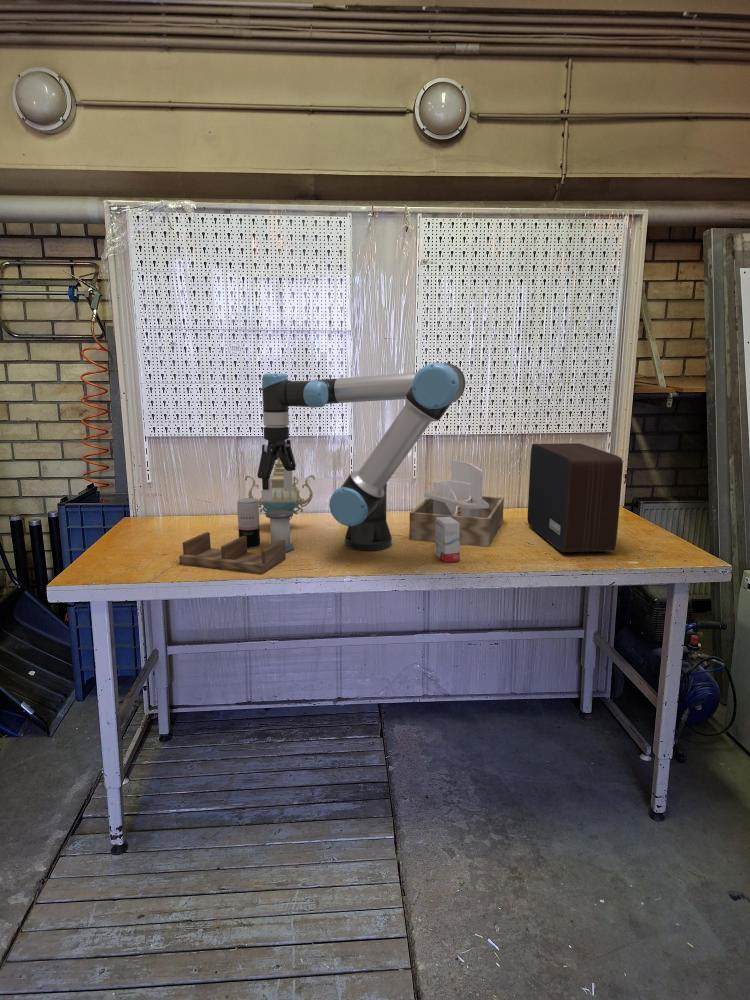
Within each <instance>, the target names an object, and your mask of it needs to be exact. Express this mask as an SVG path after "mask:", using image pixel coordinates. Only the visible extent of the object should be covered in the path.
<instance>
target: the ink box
mask: <svg viewBox="0 0 750 1000" xmlns="http://www.w3.org/2000/svg"><path fill="white" fill-rule="evenodd" d="M459 524H460V523H459V522H457V521H456V520H454V519H453V518H452V517H437V518H436V542H435V556H436V557H437V558H439V559H440V560H442V562H444V563H454V562H459V561H461V557H460V544H459Z"/></svg>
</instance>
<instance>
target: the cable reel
mask: <svg viewBox="0 0 750 1000" xmlns="http://www.w3.org/2000/svg"><path fill="white" fill-rule="evenodd" d="M265 513H266V515H265V517H266V518H268V519H269V526H270V527H269V528H270V544H268V545H267V547H266V548H268V547H269V546H271V545H273V544H275V543H276V542H278V541H280V540H285V552H286V554H287V553H288V552H289V553H291V551H292V552H293V551H295V544H293V543H291V522H290V521H291V520H290V519H291V517H292V518H293V517H294V513H293V511H290V510H272V511H268V512H265ZM289 553H288V554H289Z"/></svg>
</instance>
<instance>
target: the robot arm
mask: <svg viewBox="0 0 750 1000" xmlns="http://www.w3.org/2000/svg"><path fill="white" fill-rule="evenodd" d="M261 380H262V382H261V386H262V387H261V391H262V418H263V425H264V427H263V439H264V440H266V441H267V444H262V445H261V455H260V459H259V460H260V461H259V465H258V470H257V475H256V476H257V478H258V479H261V483H262V485H261V486H262V489H261V491H263V500H269V501H271V500H272V480H271V478H270V476H271V475H272V473H273V470H274V469H273V468H274V467H275V464H274V463H275V462H276V461H278V457H279V458H280V460H281V462H282V464H283V466H284V468H285V470H284V471H283V476H284V491H290V492H292V491H293V471H296V467H297V464H296V461H295V457H294V454H293V449H292V445H291V444H292V443H291V440H290V427H289V425H290V419H289V418H290V416H289V407H292V408H293V407H297V408H298V407H301V408H312V409H314V408H323V407H325V406H326V405H333V404H343V403H344V404H345V403H346V404H347V403H361V402H362V403H363V402H364V403H365V402H379V401H382V402H383V401H393V400H395V401H397V400H398V401H399V400H405V405H404V406H403V407H402V409H401V410H400V412H399V413H398V415H397V416H396V417H395V419H394V421H393V422H392V423H391V424H390V426H389V427H388V429H387V430H386V431H385V433H384V435H383V436H382V437H381V439H380V440H379V442H378V443H377V445H376V446H375V447H374V448H373V450H372V451H371V453H370V454H369V455H368V457H367V459H366V460H365V461H364V463H363V465H361V467H360V469H359V470H353V471H351V472H350V473H349V475H348V476H347V478H346V480H345V481H343V484H342V485H341V487H339V488H337V489H336V490H334V491H333V493H332V495H331V496H330V498H329V509H330V513H331V515H332V517H333V518H334V519H335V521H337V523H339V524H341V525H343V526H346V527H347V529H346V533H345V535H344V546H345V547H346V548H348V549H351V550H355V551H356V550H357V551H370V552H371V551H381V550H385V549H388V548H390V547H391V546H392V545H393V544H392V543H393V538H392V534H391V531H390V527H389V524H388V522H387V488H388V482H389V480H390V479H391V478H392V476H393V475H394V474H395V472H396V471H397V469H398V468H399V467H400V465H401V464H402V463H403V461H404V460H405V458H406V457H407V455H408V454H409V453H410V451H411V450H412V449H413V448H414V446H415V445H416V443H418V441H419V439H420V438H421V436H422V435H423V434H424V432H425V431H426V430H427V428H428V427H429V425H430V424H432V422H439V421H440V420H441V419H442V417H443V416H444V415H445V413H446V412H447V410H449V408H450V407H451V405H452V404H453V403H455V402H457V401H458V400H459V399H460V398H461V397H462V396H463V395H464V393H465V389H466V378H465V375H464V373H463V371H462V370H461V368H459V367H458V366H457V365H454V364H452V363H449V362H448V363H447V362H432V363H429V364H426V365H425V366H423V367H421V368H419V369H418V370H417V371H416V372H405V373H391V374H379V375H378V374H377V375H364V376H353V377H352V376H351V377H350V376H349V377H341V378H339V377H338V378H322V379H316V380H315V379H314V380H289V377H288V375H287V373H265V374H263V375H262V379H261Z"/></svg>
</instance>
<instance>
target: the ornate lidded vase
mask: <svg viewBox="0 0 750 1000" xmlns="http://www.w3.org/2000/svg"><path fill="white" fill-rule="evenodd" d="M272 470H274V471H272V474H273V475H272V474H271V475H270V478H271V480H272V500H271V501H269V500H263V491H262V490H261V491H260V492H261V498H257V499H258V503H259V513H262V512H264V515H265V516H266V512H268V511H272V510H290V511H293V515H294V514H295V515H298V514H299V511H300V512H301V513H302V512H304V510H303V508H304V507H306V506H308V505H309V504H310V502H311V501H312V499H313V494H314V493H313V490H312V488H311V486H310V485H309V483H308V479H309V478H312V479H313V481H315V480H316V477H315V474H310V475H308V476H307V477H306V479H305V483H303V484H302V485H301V488H302V489H304V488H305V487H307V488H308V490H309V496H308V498H306V499H305V498H302V497H301V496H300V493H301V490H300V489H299V488H298V487H297V485H298V483H299V479H298V477H297V476H296V475H292V480H293V481H292V484H293V491H292V492H290V491H284V476H283V471H284V470H285V468H284V466H283V464H282V462H281V460H280V458H279V457H278V459H277V461H275V463H274V466H273V469H272ZM248 478H249V479H251V480H252V486H251V488H249V491H248V495H247V496H248V498H254V496H253V495H252V491H253V488H255V487H256V489H259V487H260V485H259V484H257V483H256V479H255V478H254V477H253V476H252V475H250V474H247V475H245V478H244V481H245V482H247V480H248ZM262 506H263V507H262ZM295 509H296V510H295ZM292 518H293V516H292V517H290V521H291V520H292Z"/></svg>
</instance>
